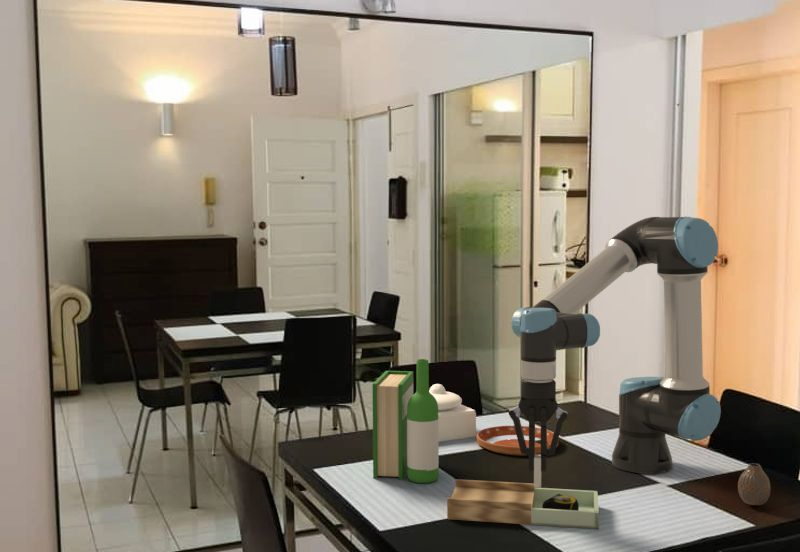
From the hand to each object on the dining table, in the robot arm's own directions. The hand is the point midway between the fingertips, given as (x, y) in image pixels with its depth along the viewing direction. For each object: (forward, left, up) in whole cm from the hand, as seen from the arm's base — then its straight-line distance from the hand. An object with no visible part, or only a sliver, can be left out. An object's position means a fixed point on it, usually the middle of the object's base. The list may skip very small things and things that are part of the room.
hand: (537, 485), depth 194 cm
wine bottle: (+29, -20, -7) cm, 36 cm away
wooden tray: (+10, 0, -6) cm, 12 cm away
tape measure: (-2, +1, -1) cm, 3 cm away
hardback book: (+38, -27, -7) cm, 47 cm away
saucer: (+8, -54, -7) cm, 55 cm away
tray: (-6, 0, -6) cm, 9 cm away
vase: (-48, -16, -7) cm, 51 cm away
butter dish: (+33, -61, -7) cm, 70 cm away
